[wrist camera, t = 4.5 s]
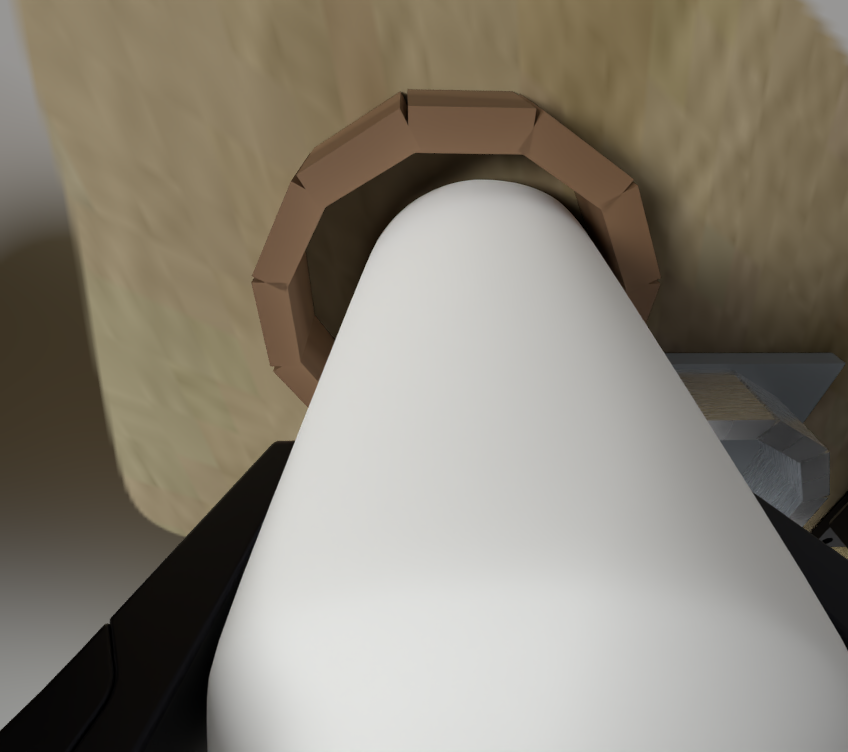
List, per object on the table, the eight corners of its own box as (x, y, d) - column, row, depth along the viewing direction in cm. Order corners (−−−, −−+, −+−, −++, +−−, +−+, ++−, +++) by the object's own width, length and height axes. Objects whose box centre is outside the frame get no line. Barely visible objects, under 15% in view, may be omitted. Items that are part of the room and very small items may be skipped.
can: (643, 219, 12) (1445, 1039, 2) (534, 403, 16) (655, 1001, 6) (398, 135, 11) (-18, 853, 1) (346, 351, 15) (138, 944, 5)
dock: (832, 352, 16) (909, 413, 13) (712, 528, 22) (749, 591, 19) (536, 353, 15) (561, 416, 13) (499, 532, 21) (511, 597, 19)
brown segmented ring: (667, 94, 11) (723, 111, 9) (575, 406, 17) (597, 456, 15) (245, 86, 10) (210, 102, 8) (304, 407, 16) (291, 459, 14)
